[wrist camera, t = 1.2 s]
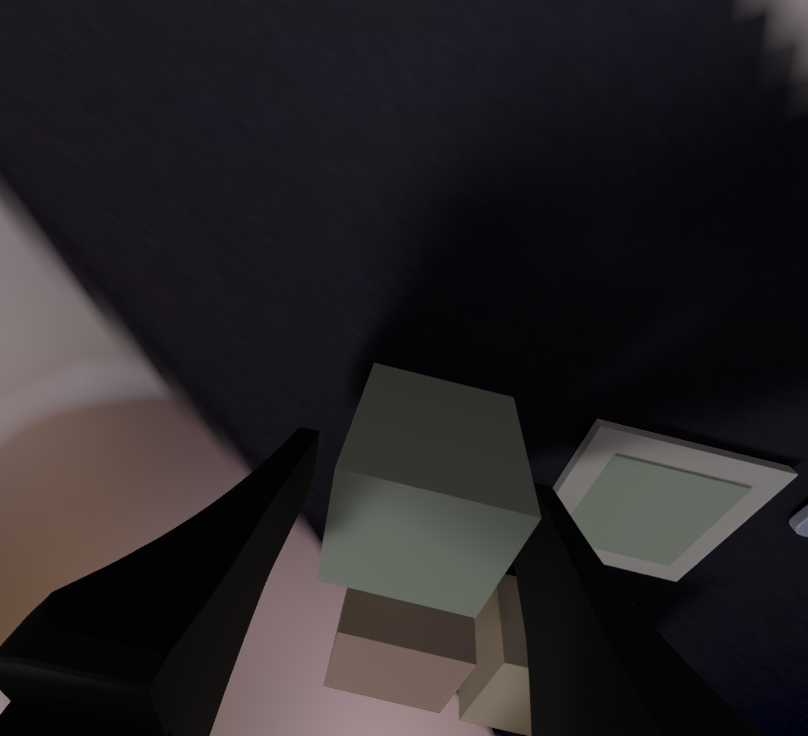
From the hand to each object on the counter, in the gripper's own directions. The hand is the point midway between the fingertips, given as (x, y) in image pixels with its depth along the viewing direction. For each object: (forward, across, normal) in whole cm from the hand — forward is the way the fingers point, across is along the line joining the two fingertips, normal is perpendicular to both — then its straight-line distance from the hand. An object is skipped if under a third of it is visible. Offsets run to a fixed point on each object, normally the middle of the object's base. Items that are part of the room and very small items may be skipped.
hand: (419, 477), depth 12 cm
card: (+2, -9, +1) cm, 9 cm away
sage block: (+2, 0, 0) cm, 2 cm away
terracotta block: (+2, -1, +8) cm, 8 cm away
